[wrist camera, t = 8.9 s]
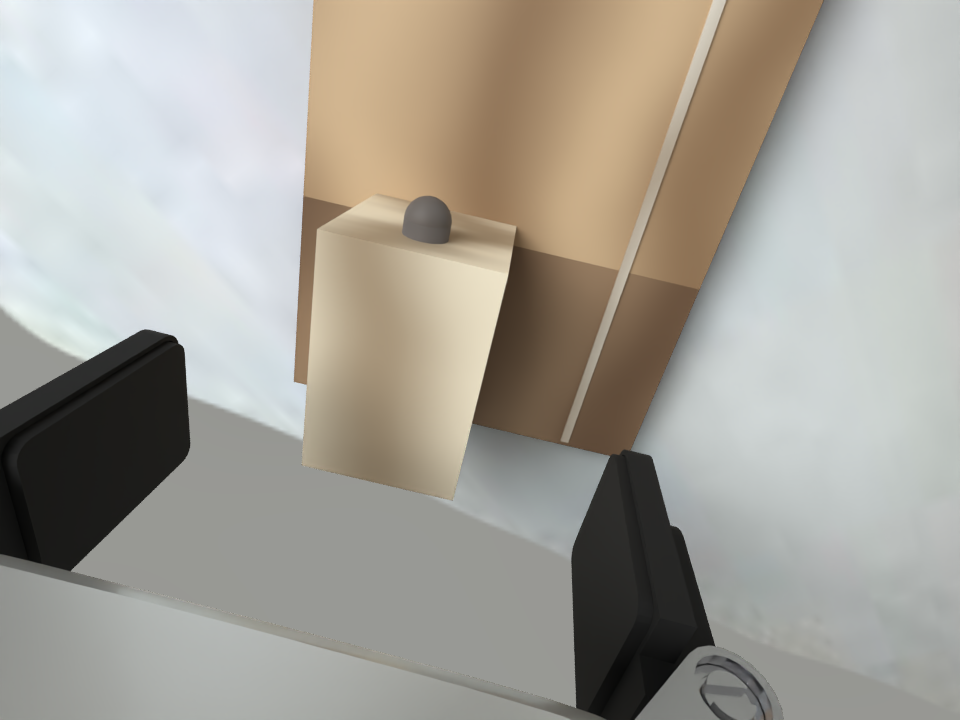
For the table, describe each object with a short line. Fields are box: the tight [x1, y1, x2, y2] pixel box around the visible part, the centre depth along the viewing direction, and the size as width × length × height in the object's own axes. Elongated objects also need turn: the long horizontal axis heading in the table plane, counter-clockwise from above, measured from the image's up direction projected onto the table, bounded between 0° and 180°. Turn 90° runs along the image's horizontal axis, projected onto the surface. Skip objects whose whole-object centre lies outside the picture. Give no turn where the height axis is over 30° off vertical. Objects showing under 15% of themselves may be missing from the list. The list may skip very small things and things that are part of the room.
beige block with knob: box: [302, 193, 517, 501], centre depth 16 cm, size 4×9×5 cm, turn 168°
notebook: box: [294, 0, 824, 456], centre depth 16 cm, size 13×20×2 cm, turn 168°
